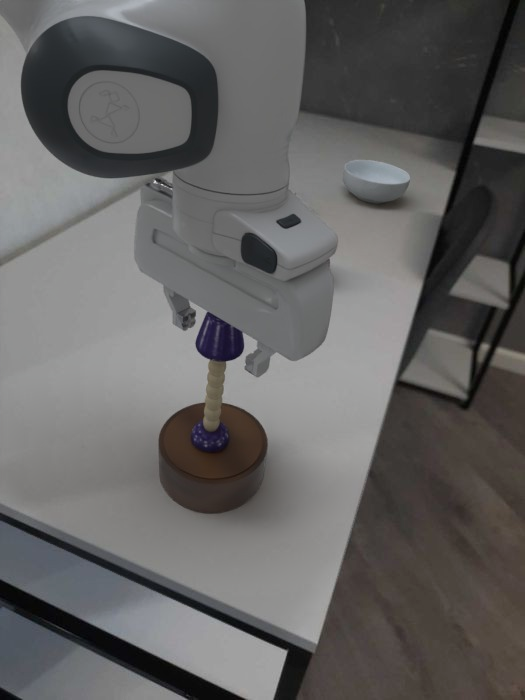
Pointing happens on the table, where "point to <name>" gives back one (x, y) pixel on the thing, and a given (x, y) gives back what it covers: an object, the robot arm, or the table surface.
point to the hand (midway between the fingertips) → (218, 347)
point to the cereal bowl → (375, 180)
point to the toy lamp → (215, 379)
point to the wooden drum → (212, 460)
